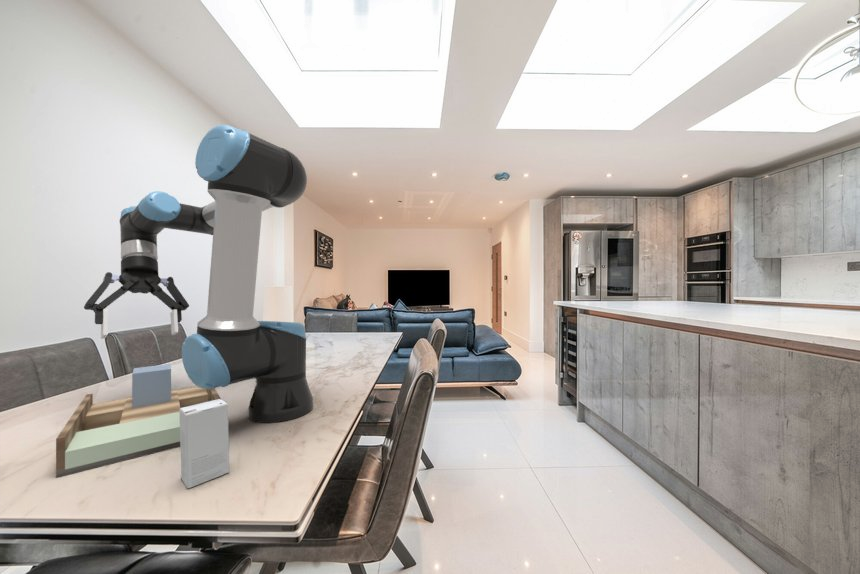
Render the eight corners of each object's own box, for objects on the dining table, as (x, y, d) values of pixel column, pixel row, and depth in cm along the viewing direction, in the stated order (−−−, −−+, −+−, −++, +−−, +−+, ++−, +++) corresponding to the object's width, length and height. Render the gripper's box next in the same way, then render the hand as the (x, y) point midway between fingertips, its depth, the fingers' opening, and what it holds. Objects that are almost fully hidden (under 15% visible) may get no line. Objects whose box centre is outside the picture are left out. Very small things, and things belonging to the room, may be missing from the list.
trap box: (86, 421, 77) (86, 394, 77) (208, 399, 93) (208, 376, 93) (56, 477, 54) (56, 438, 54) (224, 435, 70) (224, 404, 70)
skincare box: (221, 464, 58) (221, 397, 58) (230, 474, 55) (230, 402, 55) (178, 480, 53) (178, 406, 53) (186, 491, 50) (185, 413, 50)
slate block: (134, 400, 80) (134, 368, 80) (170, 394, 84) (170, 363, 84) (132, 408, 75) (132, 373, 75) (171, 401, 79) (171, 368, 79)
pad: (76, 447, 62) (76, 432, 62) (212, 417, 77) (212, 405, 77) (65, 469, 55) (65, 452, 55) (218, 431, 69) (218, 418, 69)
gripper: (189, 271, 100) (194, 336, 94) (69, 260, 80) (66, 343, 74) (198, 260, 96) (204, 328, 90) (74, 246, 76) (71, 332, 70)
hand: (141, 335), depth 82 cm, fingers open, 13 cm apart
